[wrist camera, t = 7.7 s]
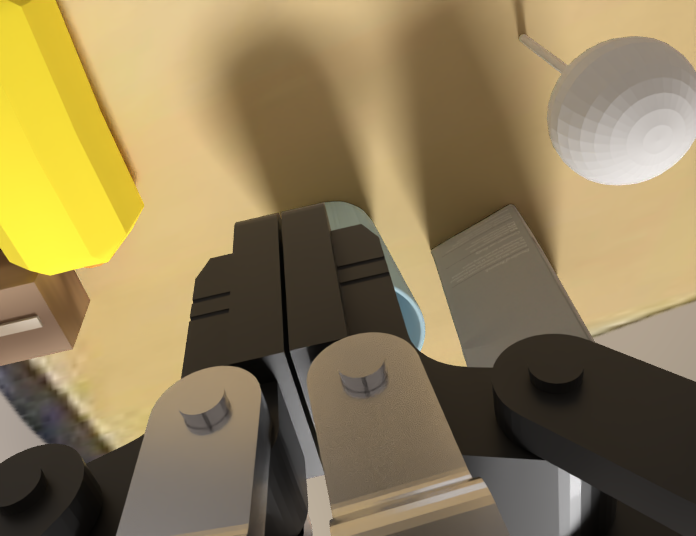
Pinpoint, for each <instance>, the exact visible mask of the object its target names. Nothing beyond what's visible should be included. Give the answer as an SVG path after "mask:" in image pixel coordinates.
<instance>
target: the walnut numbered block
mask: <svg viewBox="0 0 696 536" xmlns="http://www.w3.org/2000/svg"><path fill="white" fill-rule="evenodd" d="M89 303H90V299H89V297H88V295H87V293H86V292H85V290H84V288H83V286H82V284H81V282H80V280H79V278H78V276H77V275H76V273H75V271H74V270H70V271H67V272H63V273H59V274H55V275H51V276H50V275H46V274H41V273H37V272H33V271H29V270H27V269H25V268H22V267H20V266H18V265H15V264H13V263H11V262H9V260H8V259H7V257H6V256H5V254H4V253H3V251H2V250H0V366H1V365H6V364H10V363H14V362H19V361H23V360H27V359H32V358H36V357H41V356H45V355H49V354H54V353H58V352H62V351H67V350H71V349H73V347H74V344H75V342H76V339H77V336H78V333H79V330H80V328H81V325H82V322H83V319H84V317H85V314H86V311H87V308H88V306H89Z"/></svg>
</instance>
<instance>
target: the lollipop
mask: <svg viewBox="0 0 696 536" xmlns="http://www.w3.org/2000/svg"><path fill="white" fill-rule="evenodd" d="M519 41H520V42H521V43H523V44H524V45H525V46H527V47H528V48H529V49H530V50H532V51H533V52H534V53H536V54H537V55H538V56H540V57H541V58H542V59H543V60H545V61H546V62H547V63H549V64H550V65H551V66H552V67H554V68H555V69H556V70H558V71H559V72H560V73H561V76H560V77H559V78H558V80H557V82H556V84H555V86H554V89H553V91H552V93H551V96H550V100H549V103H548V111H547V122H548V130H549V136H550V139H551V141H552V144H553V147H554V148H555V150H556V151H557V153H558V154H559V156H560V157H561V159H562V160H563V162H564V163H565V164H566V165H568V166H569V167H570V168H571V169H572V170H573V171H575V172H576V173H577V174H579V175H580V176H582V177H584V178H586V179H588V180H590V181H593V182H597V183H600V184H606V185H628V184H635V183H640V182H643V181H646V180H650V179H652V178H654V177H656V176H658V175H660V174H662V173H663V172H665V171H666V170H667V169H669V168H670V167H672V166H673V165H674V164H675V163H677V162H678V161H679V160H680V159H681V158H682V157H683V156H684V154H685V153H686V152H687V151H688V150H689V148H690V146H691V145H692V143H693V142H694V140H695V138H696V72H695V70H694V68H693V66H692V65H691V64H690V63H689V61H688V60H687V59H686V58H685V57H684V56H683V55H682V54H681V53H680V52H678V51H677V50H676V49H674V48H673V47H671V46H670V45H668V44H667V43H665V42H662V41H659V40H657V39H654V38H647V37H638V36H632V37H623V38H615V39H610V40H607V41H604V42H601V43H599V44H597V45H595V46H593V47H591V48H589V49H587V50H586V51H585V52H583V53H582V54H581V55H579V56H578V57H577V58H575V59H574V60H573V61H572V62H571V63H570V64H569V65H567V64H565V63H564V62H563V61H561V60H560V59H558V58H557V57H556V56H554V55H553V54H552V53H550V52H549V51H548V50H546V49H545V48H543V47H542V46H541V45H539V44H538V43H537V42H535V41H534V40H532V39H531V38H530V37H528V36H527V35H526V34H522V35H520V37H519Z"/></svg>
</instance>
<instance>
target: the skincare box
mask: <svg viewBox="0 0 696 536" xmlns="http://www.w3.org/2000/svg"><path fill="white" fill-rule="evenodd" d="M431 253H432V256H433V258H434V261H435V264H436V267H437V271H438V274H439V277H440V280H441V283H442V287H443V290H444V293H445V296H446V299H447V303H448V306H449V309H450V312H451V316H452V319H453V322H454V325H455V328H456V331H457V334H458V337H459V340H460V344H461V347H462V351H463V355H464V358H465V361H466V364H467V367H489V368H493V365H494V363H495V361H496V359H497V358H498V357H499V355H500V354H501V353H502V352H503V351H504V350H505V349H506V348H508V347H509V346H510V345H512V344H514V343H516V342H517V341H520V340H522V339H525V338H528V337H532V336H535V335H542V334H567V335H572V336H577V337H581V338H584V339H587V340H590V341H592V342H595V341H594V340H593V338H592V336H591V334H590V333H589V331H588V329H587V327H586V326H585V324H584V322H583V320H582V319H581V317H580V315H579V314H578V312H577V310H576V308H575V307H574V305H573V303H572V301H571V299H570V298H569V296H568V294H567V292H566V291H565V289H564V287H563V285H562V284H561V282H560V280H559V278H558V276H557V275H556V273H555V271H554V269H553V268H552V266H551V264H550V262H549V261H548V259H547V257H546V255H545V253H544V252H543V250H542V248H541V247H540V245H539V243H538V242H537V240H536V238H535V237H534V235H533V233H532V232H531V230H530V229H529V227H528V225H527V224H526V222H525V221H524V219H523V218H522V216H521V215H520V213H519V212H518V210H517V209H516V207H515V206H514V205H511V204H510V205H508V206H506V207H504V208H502V209H501V210H499V211H497V212H496V213H494V214H492V215H491V216H489V217H487V218H485V219H484V220H482V221H480V222H479V223H477V224H475V225H473V226H471V227H470V228H468V229H466V230H464V231H463V232H461V233H459V234H457V235H455V236H454V237H452V238H450V239H449V240H447V241H445V242H444V243H442V244H440V245H438V246H437V247H435V248H433V249H432V250H431Z"/></svg>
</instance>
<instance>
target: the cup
mask: <svg viewBox="0 0 696 536" xmlns="http://www.w3.org/2000/svg"><path fill="white" fill-rule="evenodd" d="M324 204H325V208H326V211H327V215H328V219H329V223H330V228H331V231H332V230H337V229H341V228H345V227H350V226H354V225H358V224H362V225H364V226H365V227H366V228H368V229H369V230H370V231H371V232H373V233H374V234H375V235H377V236H378V237H379V239H380V243H381V246H382V249H383V253H384V256H385V260H386V263H387V266H388V269H389V273H390V276H391V279H392V282H393V286H394V289H395V292H396V296H397V299H398V302H399V306H400V309H401V312H402V316H403V319H404V322H405V325H406V329H407V332H408V335H409V338H410V340H411V342H412V343H413V344H414V346H415V347H416V348H417V349H418V350H419V351H421V349H422V346H423V342H424V338H425V322H424V318H423V315H422V312H421V310H420V308H419V306H418V304H417V302H416V301H415V299H414V297H413V295H412V293H411V291H410V290H409V288H408V286H407V284H406V282H405V281H404V279H403V277H402V275H401V273H400V271H399V269H398V268H397V266H396V264H395V262H394V260H393V258H392V256H391V255H390V253H389V251H388V249H387V247H386V245H385V243H384V242H383V240H382V238H381V236H380V234H379V232H378V230H377V229H376V227H375V225H374V223H373V222H372V220H371V219H370V217H369V216H368V215H367V214H366V213H365V212H364V211H363V210H362V209H360V208H359V207H357V206H354V205H352V204H349V203H346V202H341V201H334V202H325V203H324Z"/></svg>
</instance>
